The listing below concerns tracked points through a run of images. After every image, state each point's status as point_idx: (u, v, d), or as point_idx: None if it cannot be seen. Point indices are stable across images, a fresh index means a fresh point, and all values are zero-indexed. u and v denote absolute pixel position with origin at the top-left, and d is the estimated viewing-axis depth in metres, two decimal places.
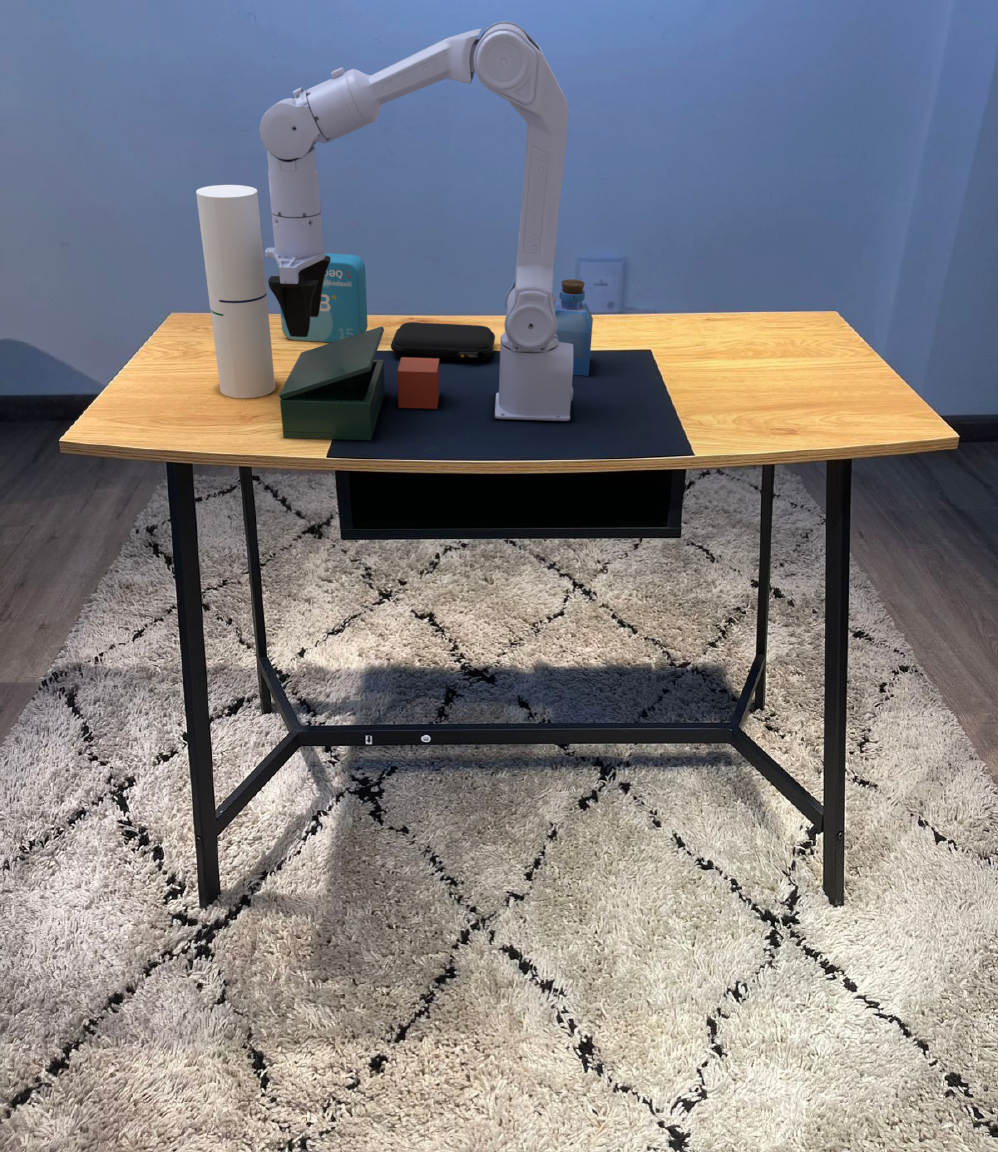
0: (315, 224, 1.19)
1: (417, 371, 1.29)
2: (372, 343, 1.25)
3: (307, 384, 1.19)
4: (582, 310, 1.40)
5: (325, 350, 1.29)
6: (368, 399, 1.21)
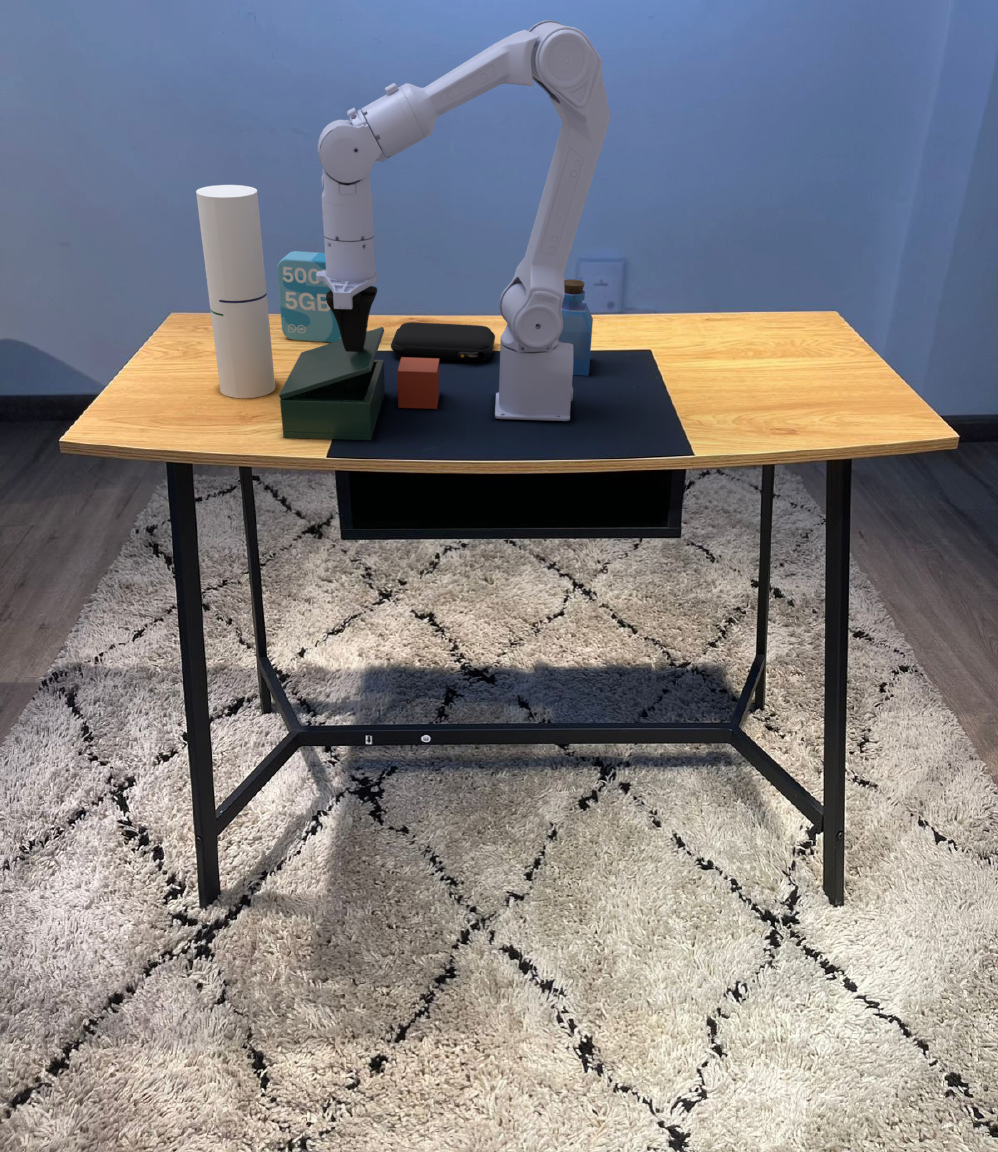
0: (369, 248, 1.16)
1: (417, 371, 1.29)
2: (372, 344, 1.25)
3: (307, 384, 1.19)
4: (582, 310, 1.40)
5: (325, 350, 1.29)
6: (368, 399, 1.21)
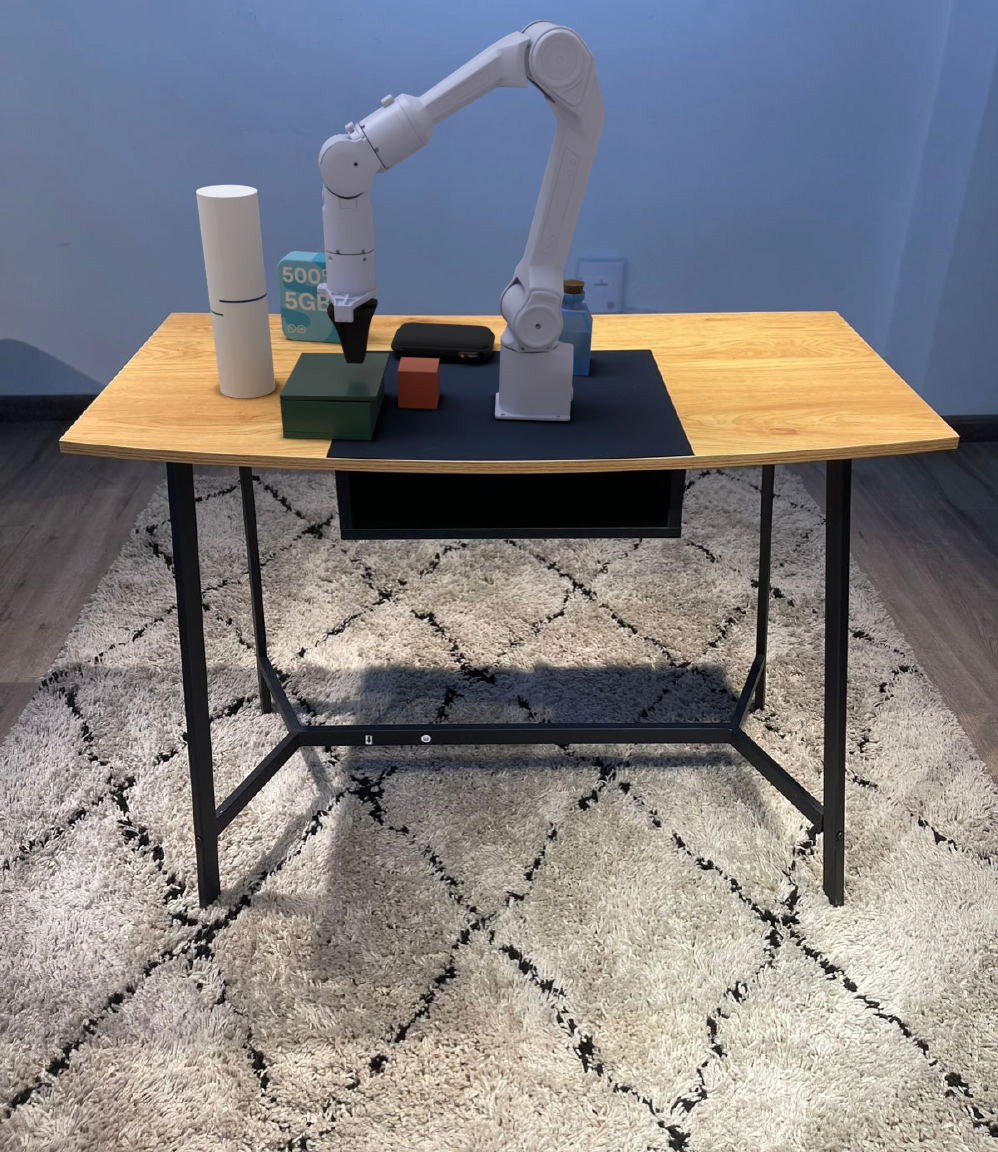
0: (369, 261, 1.17)
1: (417, 371, 1.29)
2: (379, 370, 1.27)
3: (310, 393, 1.20)
4: (582, 310, 1.40)
5: (328, 359, 1.30)
6: None
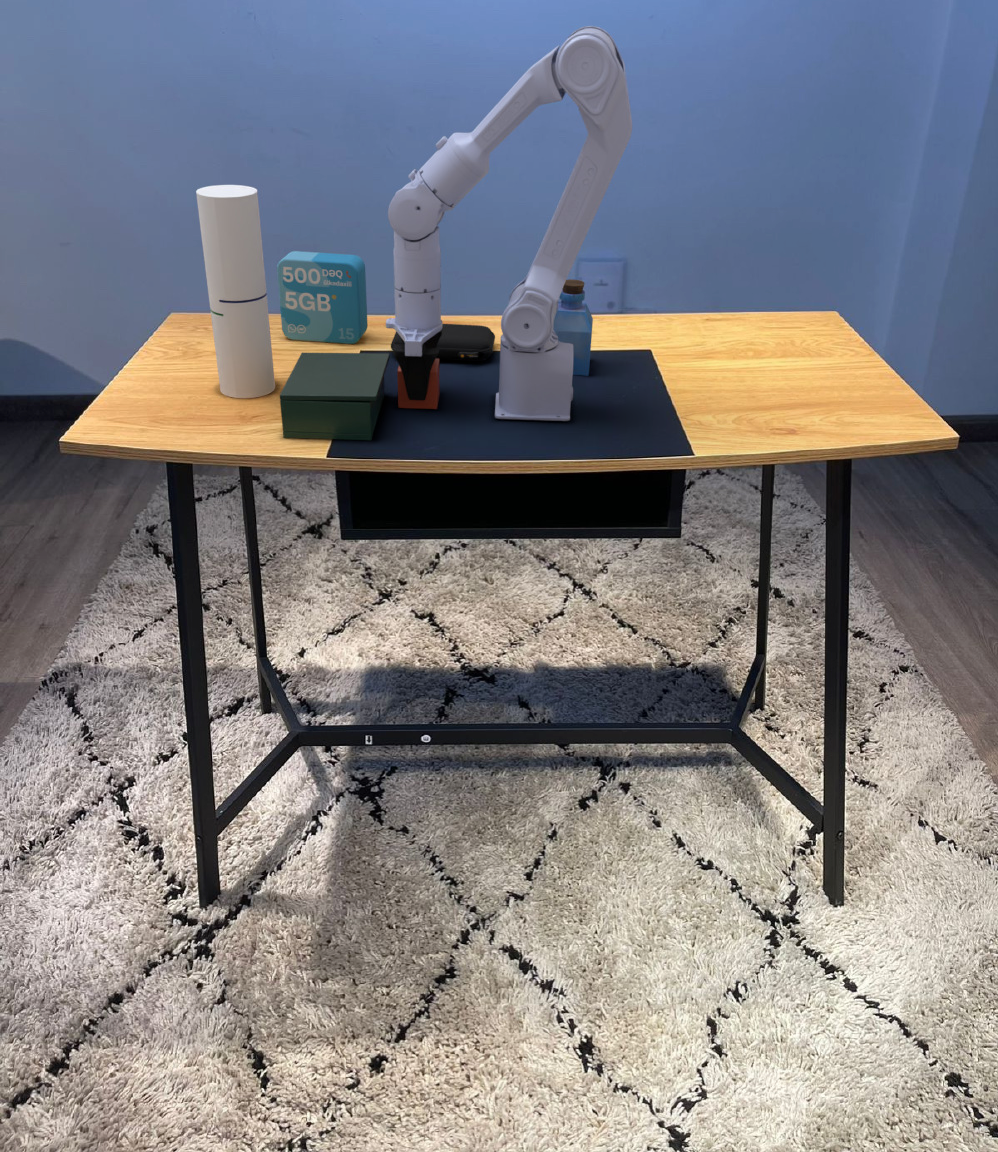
0: (436, 298, 1.25)
1: None
2: (379, 370, 1.27)
3: (310, 393, 1.20)
4: (582, 310, 1.40)
5: (328, 359, 1.30)
6: None
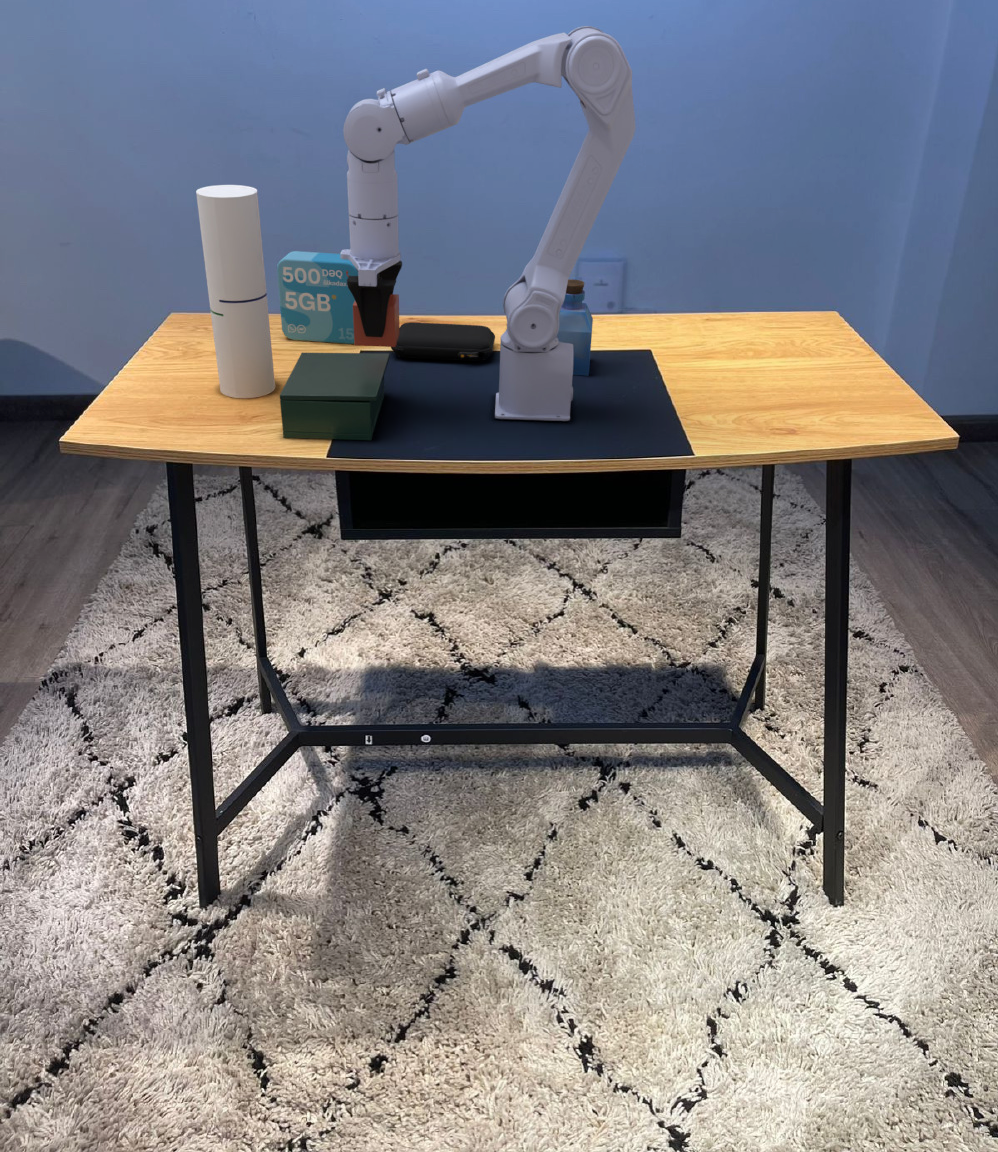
0: (393, 226, 1.18)
1: None
2: (379, 370, 1.27)
3: (310, 393, 1.20)
4: (582, 310, 1.40)
5: (328, 359, 1.30)
6: None
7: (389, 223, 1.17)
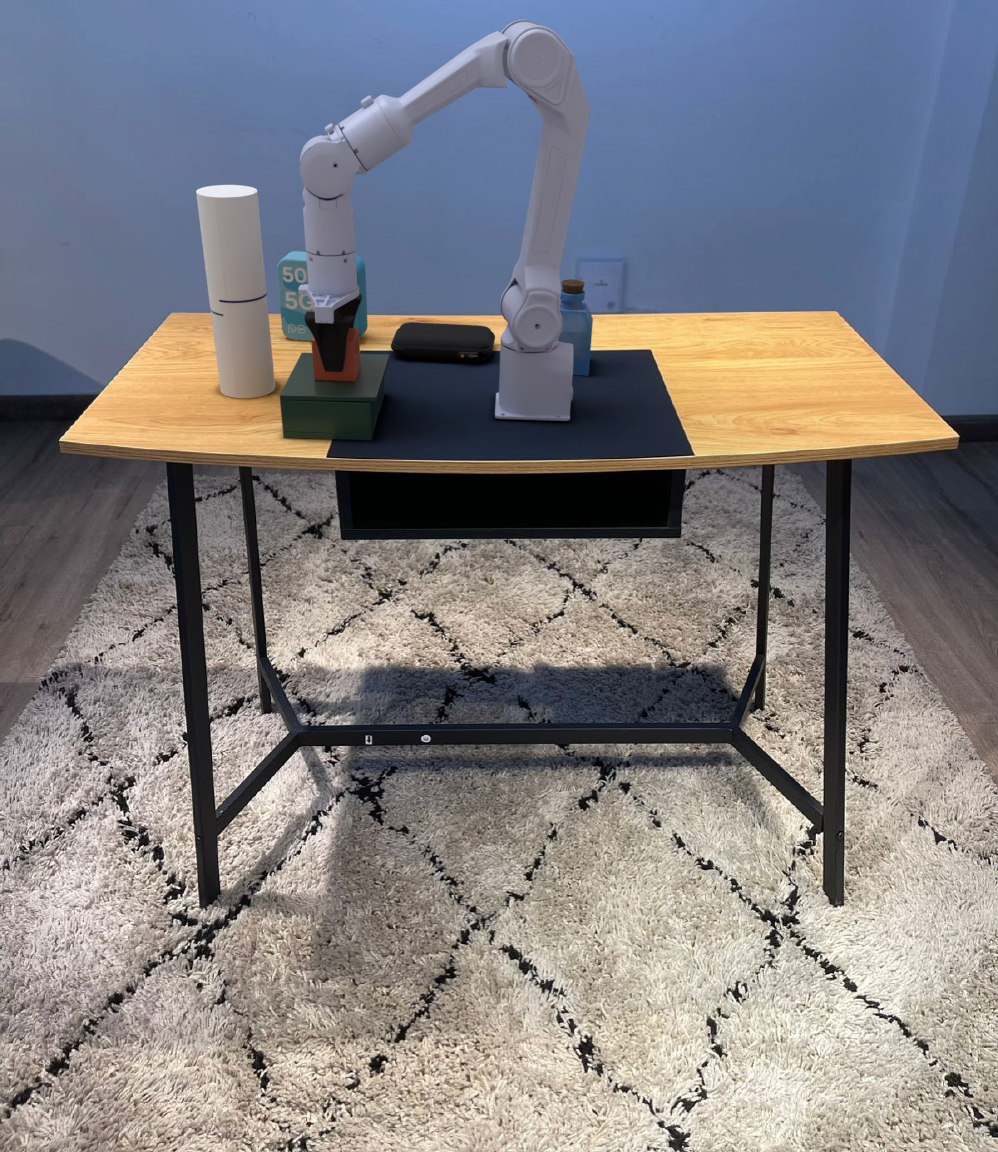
0: (350, 262, 1.17)
1: None
2: (379, 371, 1.27)
3: (310, 394, 1.20)
4: (582, 310, 1.40)
5: None
6: None
7: (346, 259, 1.17)
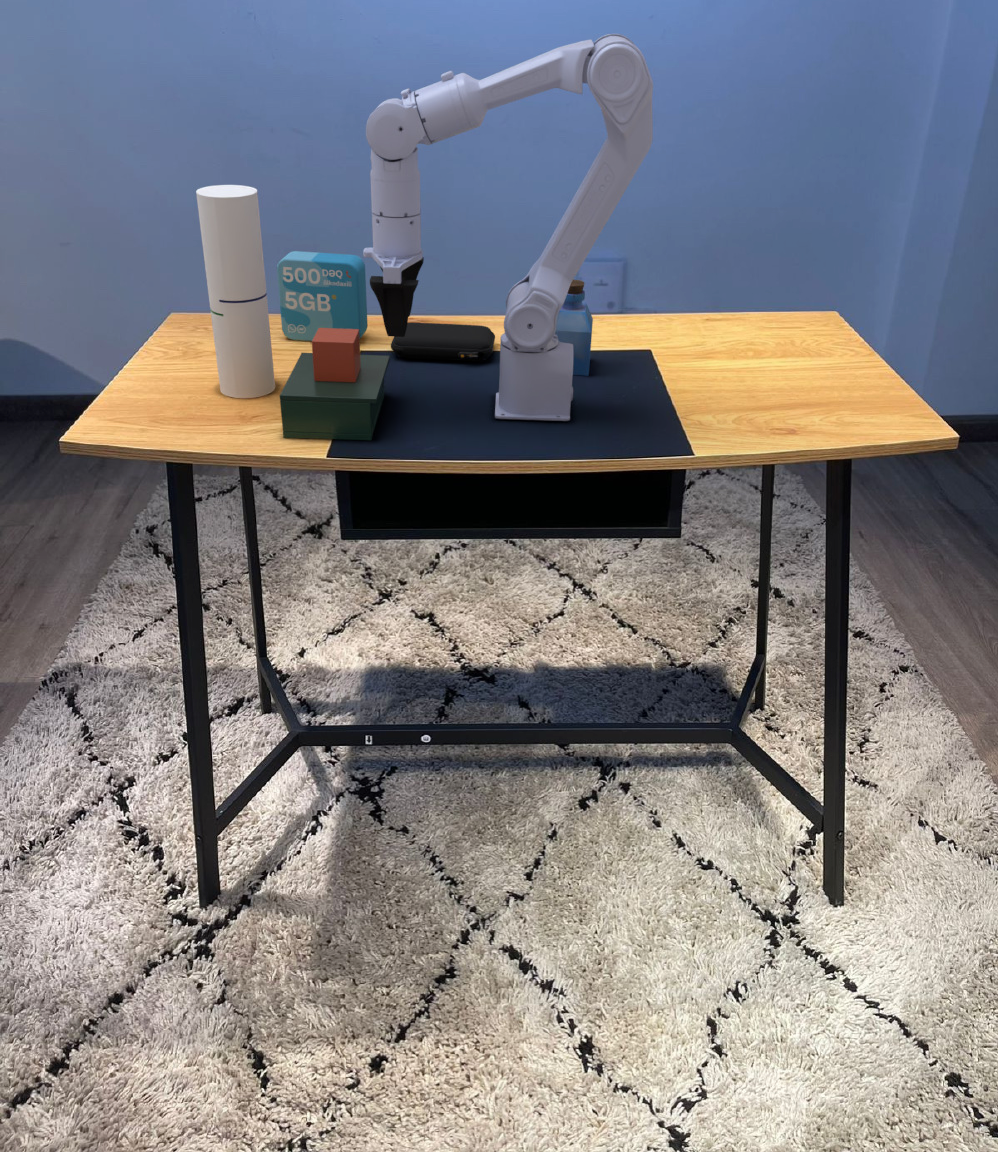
0: (416, 224, 1.19)
1: (333, 341, 1.21)
2: (379, 372, 1.27)
3: (310, 394, 1.20)
4: (582, 310, 1.40)
5: None
6: None
7: (412, 221, 1.18)
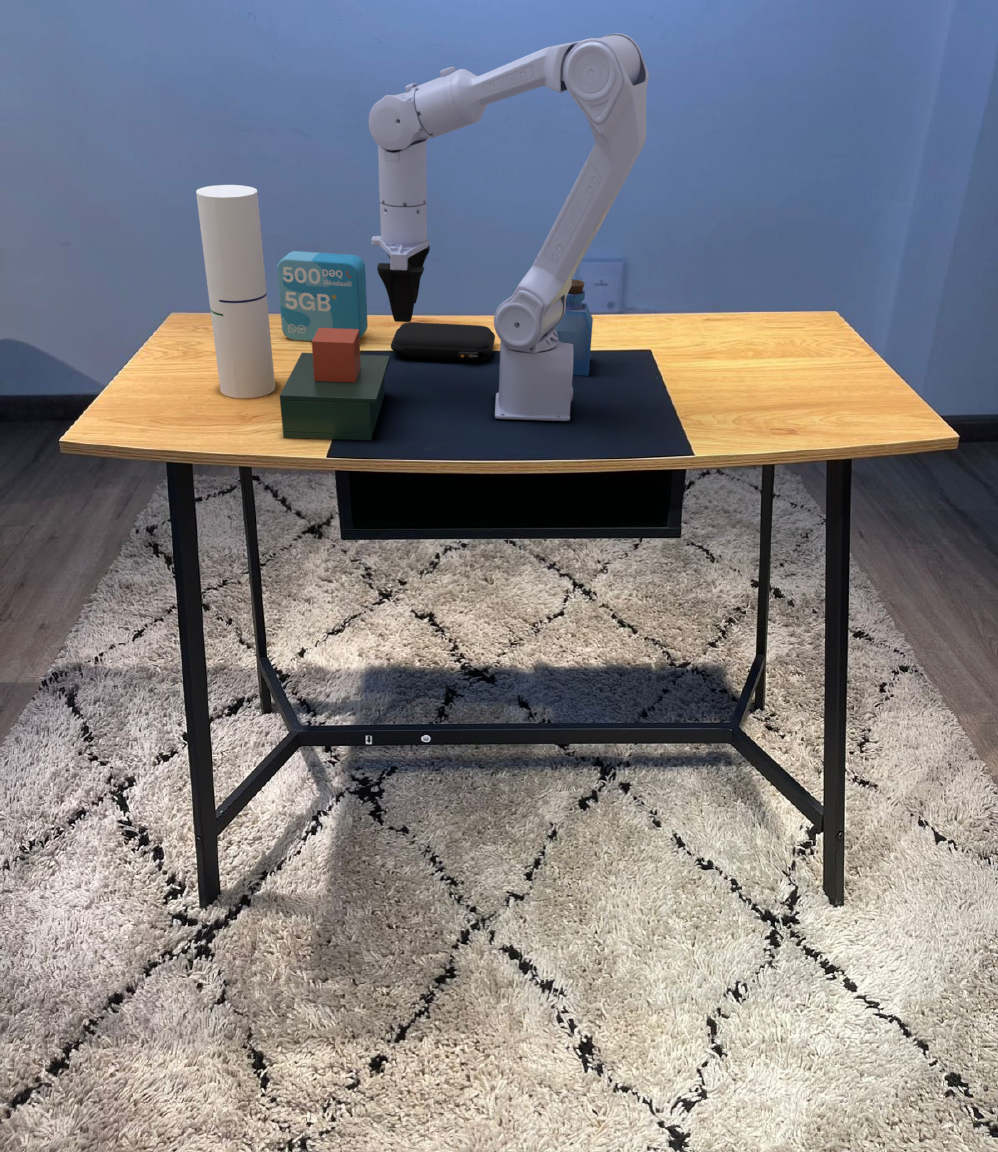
0: (422, 213, 1.24)
1: (333, 341, 1.21)
2: (379, 372, 1.27)
3: (310, 394, 1.20)
4: (582, 310, 1.40)
5: None
6: None
7: (418, 210, 1.23)
